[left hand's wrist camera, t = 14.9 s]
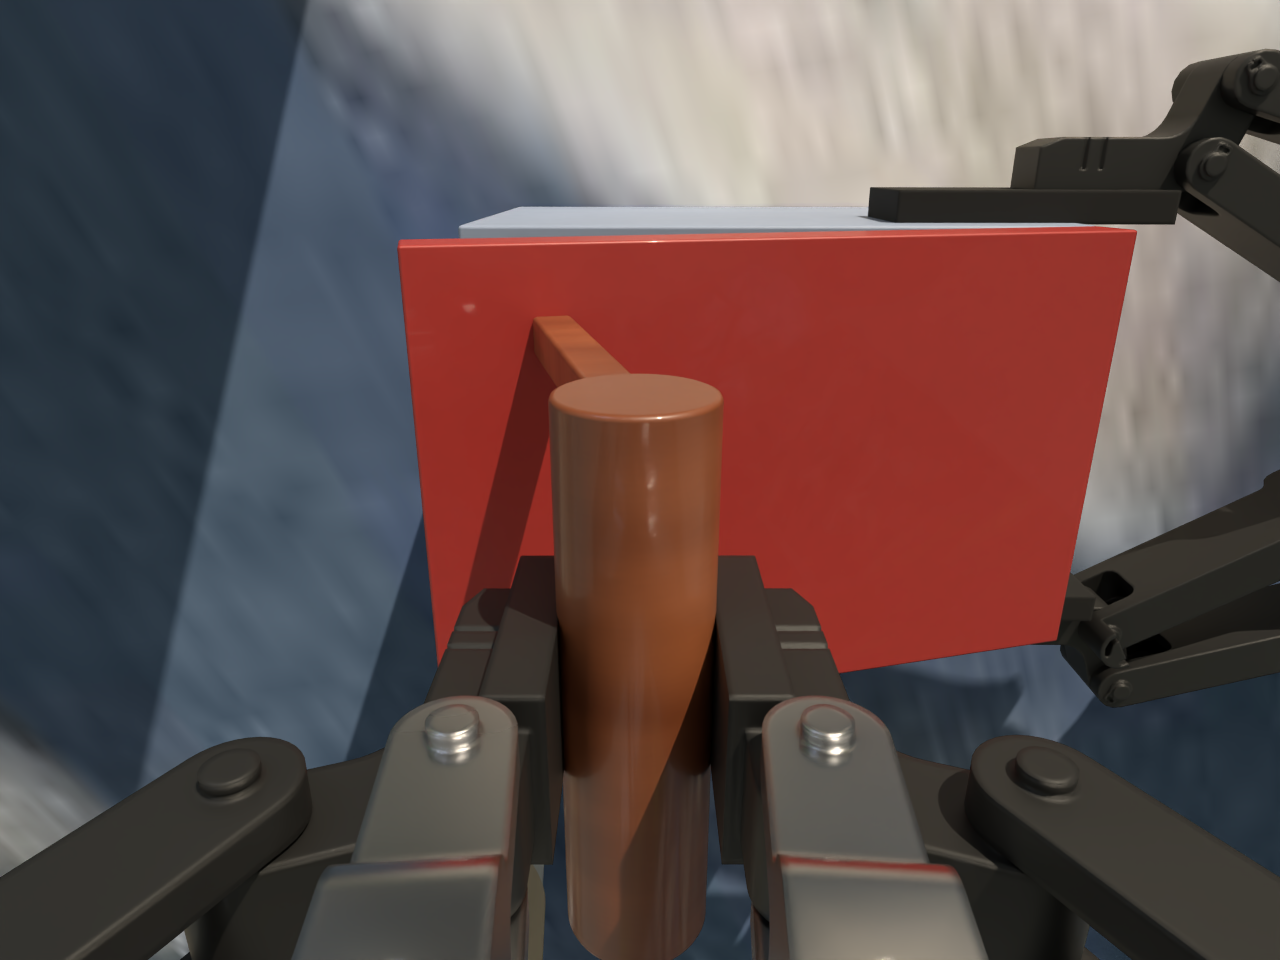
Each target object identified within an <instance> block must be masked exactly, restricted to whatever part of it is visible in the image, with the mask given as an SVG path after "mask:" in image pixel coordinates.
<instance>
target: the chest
mask: <svg viewBox="0 0 1280 960" xmlns="http://www.w3.org/2000/svg"><path fill="white" fill-rule="evenodd" d="M1081 226H1093V225H1086V224H1078V223H894V222H889V221H885V220H881V219H876V218H872V217H868V207H518V208H515V209H512V210H508V211H505V212H502V213H499V214H496V215H493V216H489V217H486V218H483V219H480V220H477V221H473V222H470V223H467V224H464V225H461V226H459V229H458V230H459V239H466V238H517V237H568V236H620V235H671V234H722V233H774V232H825V231H876V230H927V229H979V228H1030V227H1081Z"/></svg>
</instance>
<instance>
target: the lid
mask: <svg viewBox="0 0 1280 960" xmlns="http://www.w3.org/2000/svg"><path fill="white" fill-rule="evenodd" d="M1136 235H1137V231H1136V230H1130V229H1119V228H1108V227H1096V226H1081V227H1030V228H979V229H927V230H876V231H825V232H774V233H722V234H671V235H620V236H568V237H517V238H466V239H415V240H400V241H399V242H398V248H397V250H398V261H399V271H400V281H401V292H402V302H403V312H404V323H405V333H406V343H407V354H408V364H409V374H410V384H411V395H412V405H413V415H414V426H415V436H416V446H417V457H418V467H419V477H420V488H421V498H422V508H423V519H424V529H425V539H426V550H427V560H428V570H429V580H430V591H431V601H432V611H433V622H434V632H435V642H436V653H437V663H438V666H439V664H440V661H441V659H442V656H443V654H444V651H445V649H447V644H448V641H449V639H450V636H451V633H452V631H454V626H455V623H456V621H457V618H458V616H459V613H460V611H461V608H462V606H463V605H464V604H466V603H467V602H468V601H469V600H470V599H472V598H473V597H474V596H475V595H476V594H478V593H479V592H480V591H481V590H482V589H484V588H511V586H512V583H513V579H514V576H515V572H516V569H517V566H518V562H519V559H520V557H521V556H541V555H554V567H555V592H556V613H557V617H558V620H559V646H560V673H561V699H562V725H563V751H564V776H563V797H564V822H565V848H566V873H567V899H568V916H569V922H570V925H571V928H572V930H573V932H574V934H575V936H576V937H577V939H578V940H579V942H580V943H581V944H582V945H583V946H584V947H585V948H586V949H587V950H588V951H589V952H590V953H591V954H593V955H594V956H596V957H598V958H599V959H601V960H672V959H674V958H676V957H677V956H679V955H680V954H682V953H683V952H684V951H686V950H687V949H688V948H689V947H690V946H691V945H692V943H693V942H694V941H695V939H696V938H697V936H698V935H699V933H700V931H701V929H702V926H703V923H704V920H705V914H706V886H707V858H708V830H709V802H710V774H711V764H710V762H711V734H712V706H713V677H714V649H715V621H716V605H717V577H718V555H754V556H755V557H756V560H757V564H758V567H759V571H760V574H761V578H762V581H763V585H764V588H792V589H793V590H794V591H796V592H797V593H798V594H799V595H800V596H802V597H803V598H804V599H805V600H806V601H808V602H809V603H810V604H811V605H812V606H813V607H814V609H815V612H816V615H817V617H818V620H819V622H820V625H821V631H823V633H824V635H825V638H826V641H827V643H828V649H830V651H831V654H832V656H833V659H834V662H835V664H836V667H837V669H838V672H839V673H846V672H852V671H859V670H865V669H872V668H879V667H885V666H892V665H898V664H905V663H912V662H918V661H925V660H931V659H938V658H945V657H951V656H958V655H964V654H971V653H977V652H984V651H991V650H997V649H1004V648H1010V647H1017V646H1024V645H1030V644H1037V643H1043V642H1050V641H1056V640H1057V635H1058V630H1059V625H1060V620H1061V615H1062V610H1063V605H1064V600H1065V595H1066V590H1067V585H1068V580H1069V575H1070V570H1071V564H1072V559H1073V554H1074V549H1075V544H1076V539H1077V534H1078V529H1079V524H1080V519H1081V514H1082V509H1083V504H1084V499H1085V493H1086V488H1087V483H1088V478H1089V473H1090V468H1091V463H1092V458H1093V453H1094V448H1095V443H1096V438H1097V433H1098V428H1099V423H1100V417H1101V412H1102V407H1103V402H1104V397H1105V392H1106V387H1107V382H1108V377H1109V372H1110V367H1111V362H1112V357H1113V352H1114V346H1115V341H1116V336H1117V331H1118V326H1119V321H1120V316H1121V311H1122V306H1123V301H1124V296H1125V291H1126V286H1127V281H1128V275H1129V270H1130V265H1131V260H1132V255H1133V250H1134V245H1135V240H1136Z"/></svg>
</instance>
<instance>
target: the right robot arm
mask: <svg viewBox="0 0 1280 960" xmlns="http://www.w3.org/2000/svg"><path fill="white" fill-rule="evenodd" d="M1172 100H1173V105H1172V107H1171V109H1170V111H1169V112H1168V114H1167V116H1166V118H1165V119H1164V121H1163V122H1162V124H1161V125H1160V126H1159V127H1158V128H1157V129H1156V130H1154V131H1153V132H1151V133H1150V134H1148V135H1146V136H1144V137H1059V138H1045V139H1036V140H1034V141H1032V142H1029V143H1027V144H1024V145H1022V146H1019V147H1017V148H1016V153H1015V159H1014V166H1013V173H1012V180H1011V187H1010V188H917V187H870V196H869V207H868V217H872V218H876V219H881V220H885V221H889V222H894V223H1078V224H1175V220H1176V216H1177V213H1178V214H1179V215H1181V216H1182V217H1184V218H1185V219H1187V220H1188V221H1190V222H1191V223H1193V224H1194V225H1196V226H1197V227H1199V228H1200V229H1202V230H1203V231H1205V232H1206V233H1208V234H1209V235H1211V236H1212V237H1214V238H1215V239H1216V240H1218V241H1219V242H1221V243H1222V244H1224V245H1225V246H1227V247H1228V248H1230V249H1231V250H1233V251H1234V252H1236V253H1237V254H1239V255H1240V256H1242V257H1243V258H1245V259H1246V260H1248V261H1249V262H1251V263H1252V264H1254V265H1255V266H1257V267H1258V268H1260V269H1261V270H1263V271H1264V272H1265V273H1267V274H1268V275H1270V276H1271V277H1273V278H1274V279H1276V280H1277V281H1279V282H1280V174H1278V173H1277V172H1275V171H1274V170H1272V169H1271V168H1270V167H1268V166H1267V165H1265V164H1264V163H1262V162H1261V161H1260V160H1258V159H1257V158H1255V157H1254V156H1252V155H1251V154H1250V153H1248V152H1247V151H1245V150H1244V149H1242V148H1241V147H1240V146H1238V145H1239V144H1240V142H1241V140H1242V138H1243V137H1244V135H1245V133H1246V134H1249V135H1252V136H1255V137H1258V138H1261V139H1264V140H1267V141H1270V142H1273V143H1276V144H1279V145H1280V51H1278V50H1273V49H1262V50H1257V51H1252V52H1247V53H1242V54H1236V55H1231V56H1226V57H1221V58H1216V59H1210V60H1205V61H1200V62H1197V63H1194V64H1191V65H1189V66H1187V67H1186V68H1185V69H1183V70H1182V71H1181V72H1180V73H1179V75H1178V76H1177V78H1176V79H1175V81H1174V84H1173V88H1172ZM1278 581H1280V470H1278V471H1276V472H1273V473H1272V474H1270V475H1268V476H1267V477H1266V478H1265V479H1264V486H1263V488H1262V489H1260V490H1259V491H1256V492H1254V493H1252V494H1250V495H1248V496H1246V497H1243V498H1241V499H1239V500H1237V501H1235V502H1232V503H1230V504H1228V505H1226V506H1224V507H1221V508H1219V509H1217V510H1215V511H1213V512H1210V513H1208V514H1206V515H1204V516H1202V517H1200V518H1197V519H1195V520H1193V521H1191V522H1189V523H1186V524H1184V525H1182V526H1180V527H1178V528H1175V529H1173V530H1171V531H1169V532H1167V533H1164V534H1162V535H1160V536H1158V537H1156V538H1153V539H1151V540H1149V541H1147V542H1145V543H1143V544H1140V545H1138V546H1136V547H1134V548H1132V549H1129V550H1127V551H1125V552H1123V553H1121V554H1118V555H1116V556H1114V557H1112V558H1110V559H1107V560H1105V561H1103V562H1101V563H1099V564H1096V565H1094V566H1092V567H1090V568H1088V569H1086V570H1083V571H1081V572H1079V573H1077V574H1075V575H1072V574H1071V573H1070V575H1069V580H1068V585H1067V590H1066V595H1065V600H1064V605H1063V610H1062V615H1061V620H1060V625H1059V630H1058V635H1057V640H1056V641H1050V642H1043V643H1037V644H1030V645H1061V647H1060V651H1061V654H1062V656H1063V657H1064V659H1065V660H1066V661H1067V662H1068V663H1069V664H1070V666H1071V667H1072V668H1073V669H1074V670H1075V672H1076V673H1077V674H1078V675H1079V676H1080V677H1081V679H1082V680H1083V681H1084V682H1085V683H1086V685H1087V686H1088V687H1089V688H1090V689H1091V690H1092V692H1093V693H1094V694H1095V695H1096V696H1097V698H1098V699H1099V700H1100V701H1101V702H1102V703H1103V704H1105V705H1106V706H1109V707H1113V708H1114V707H1124V706H1128V705H1133V704H1137V703H1142V702H1147V701H1151V700H1156V699H1160V698H1165V697H1169V696H1174V695H1178V694H1183V693H1188V692H1192V691H1197V690H1201V689H1206V688H1210V687H1215V686H1220V685H1224V684H1229V683H1233V682H1238V681H1242V680H1247V679H1251V678H1256V677H1261V676H1265V675H1270V674H1274V673H1279V672H1280V583H1279V584H1275V585H1271V584H1274V583H1276V582H1278ZM1269 585H1271V586H1269Z"/></svg>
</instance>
